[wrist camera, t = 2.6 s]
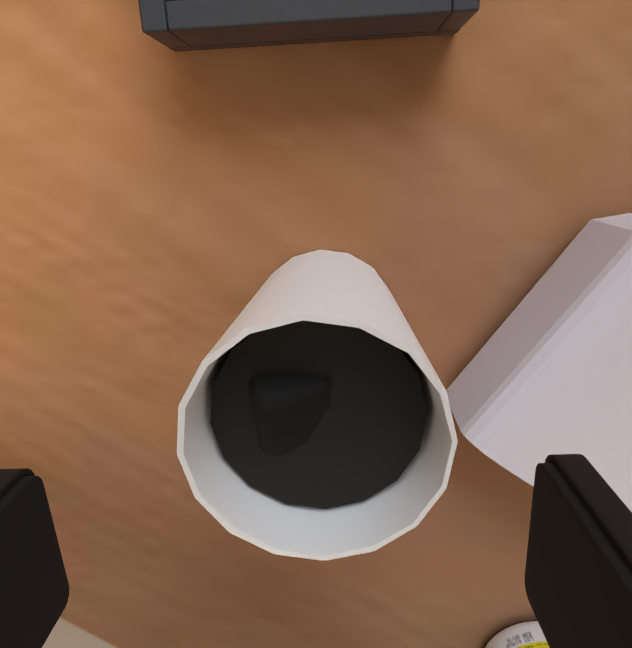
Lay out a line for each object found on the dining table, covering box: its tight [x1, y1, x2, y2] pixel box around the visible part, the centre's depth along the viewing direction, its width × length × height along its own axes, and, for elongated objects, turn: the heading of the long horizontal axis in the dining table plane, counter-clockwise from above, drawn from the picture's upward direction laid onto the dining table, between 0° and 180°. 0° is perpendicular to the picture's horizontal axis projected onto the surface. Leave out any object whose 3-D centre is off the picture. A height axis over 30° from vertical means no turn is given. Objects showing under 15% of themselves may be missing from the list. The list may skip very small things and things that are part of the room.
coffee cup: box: [177, 249, 458, 561], centre depth 17 cm, size 7×7×10 cm
